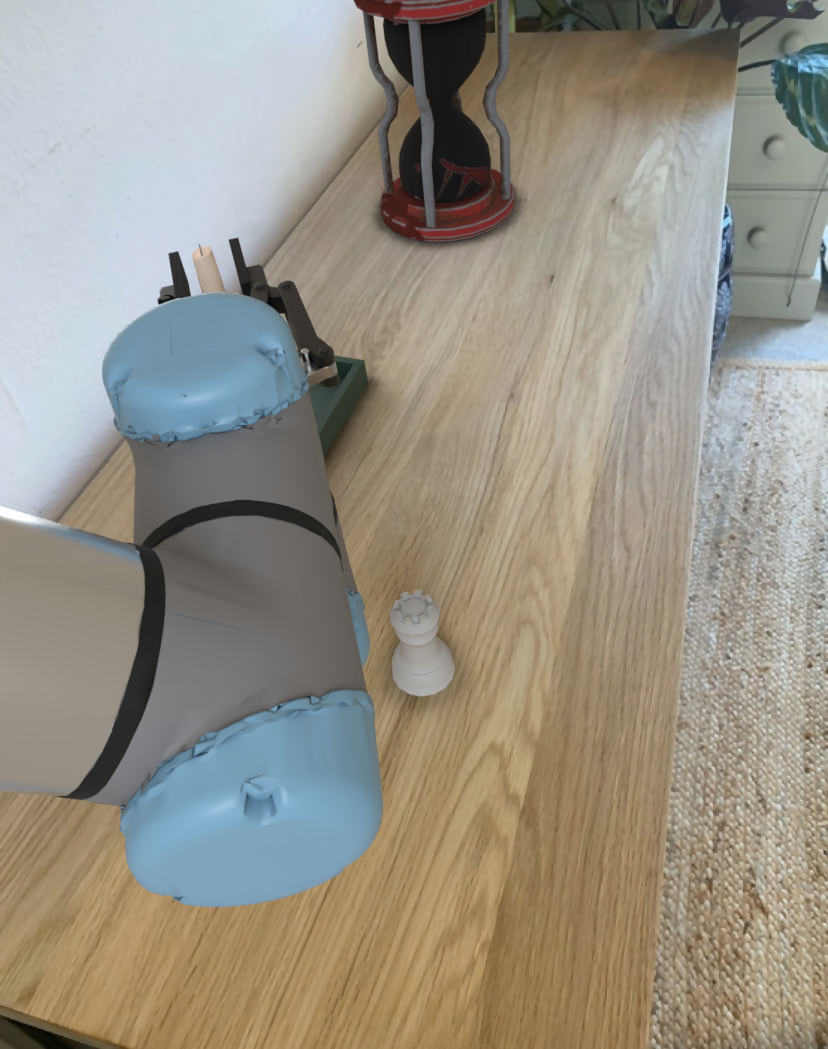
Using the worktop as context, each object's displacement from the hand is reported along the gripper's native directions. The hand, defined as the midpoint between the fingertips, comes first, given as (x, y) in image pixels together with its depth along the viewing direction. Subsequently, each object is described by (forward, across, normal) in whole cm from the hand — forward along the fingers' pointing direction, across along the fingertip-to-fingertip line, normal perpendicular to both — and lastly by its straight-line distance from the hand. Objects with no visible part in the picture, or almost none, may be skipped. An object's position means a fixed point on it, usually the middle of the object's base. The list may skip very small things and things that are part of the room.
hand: (208, 261), depth 65 cm
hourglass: (+32, +28, -18) cm, 47 cm away
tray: (0, 0, -18) cm, 18 cm away
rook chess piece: (-29, +7, -18) cm, 35 cm away
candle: (-5, 0, -6) cm, 8 cm away
